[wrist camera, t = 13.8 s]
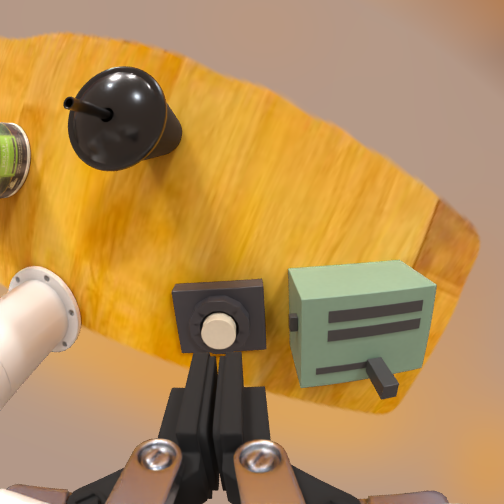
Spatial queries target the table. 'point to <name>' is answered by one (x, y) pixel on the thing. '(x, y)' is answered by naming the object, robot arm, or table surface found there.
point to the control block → (220, 301)
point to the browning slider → (382, 378)
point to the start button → (219, 331)
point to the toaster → (357, 319)
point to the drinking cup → (121, 120)
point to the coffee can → (13, 158)
